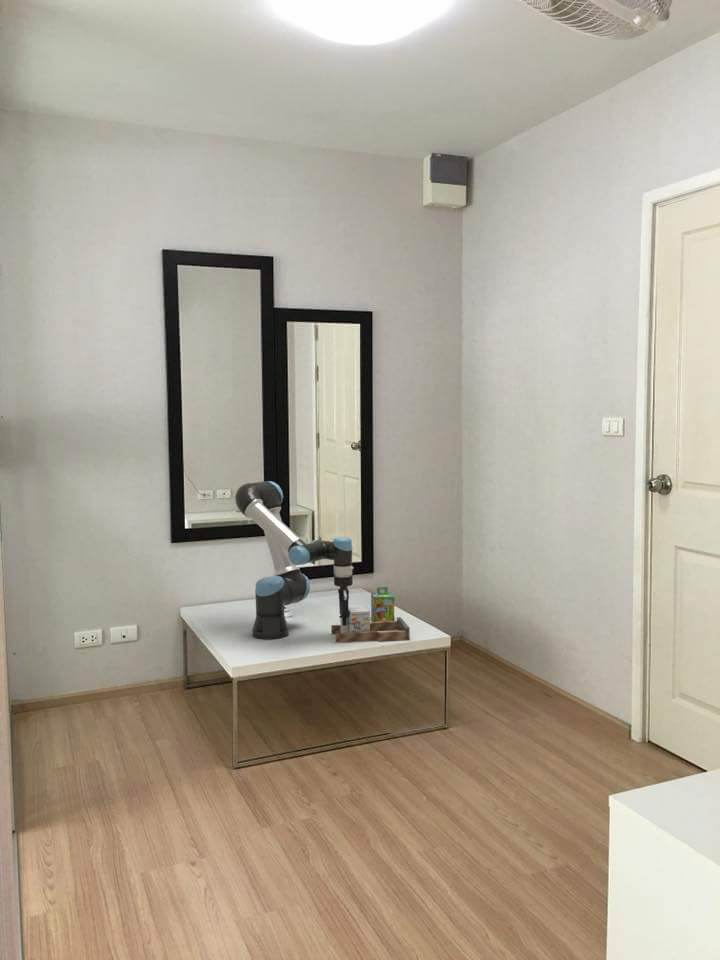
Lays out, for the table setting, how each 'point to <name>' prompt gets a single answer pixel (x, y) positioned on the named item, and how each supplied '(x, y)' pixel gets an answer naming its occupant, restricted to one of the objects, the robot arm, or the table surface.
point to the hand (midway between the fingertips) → (344, 632)
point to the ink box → (358, 619)
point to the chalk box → (382, 606)
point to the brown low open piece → (375, 632)
